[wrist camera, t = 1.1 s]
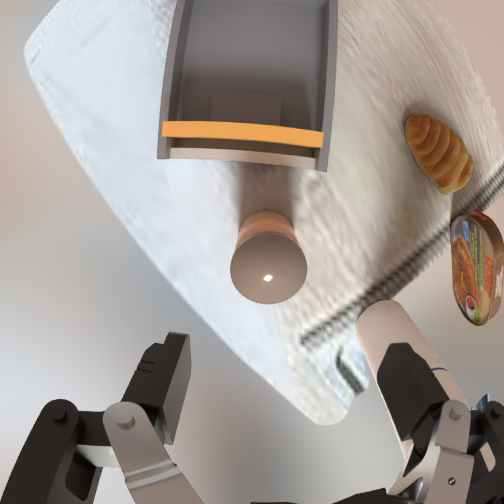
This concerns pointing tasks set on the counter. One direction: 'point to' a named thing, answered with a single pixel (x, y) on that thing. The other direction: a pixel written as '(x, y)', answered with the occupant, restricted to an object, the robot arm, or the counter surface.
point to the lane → (251, 74)
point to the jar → (267, 259)
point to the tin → (477, 266)
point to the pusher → (244, 122)
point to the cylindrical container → (404, 330)
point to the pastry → (439, 153)
